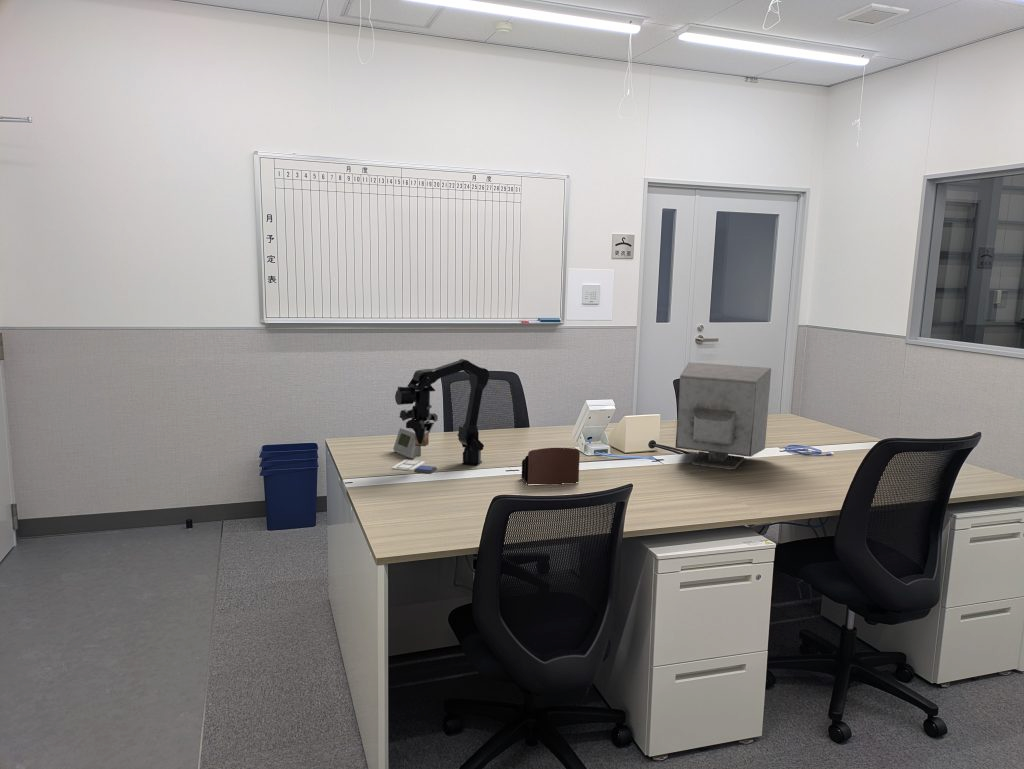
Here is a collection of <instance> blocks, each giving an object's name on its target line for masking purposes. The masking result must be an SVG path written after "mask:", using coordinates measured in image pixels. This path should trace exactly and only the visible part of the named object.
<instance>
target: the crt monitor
mask: <svg viewBox="0 0 1024 769" xmlns="http://www.w3.org/2000/svg"><path fill="white" fill-rule="evenodd" d="M771 375H772V368H771V367H760V366H759V367H758V366H746V365H744V366H743V365H734V364H733V365H731V364H720V363H719V364H716V363H707V362H706V363H703V362H691V361H690V362H689V361H688V363H687V364H686V366H685V368H684V369H683V371H682V372H681V374H680V375H679V385H678V386H679V387H678V388H679V389H678V401H677V415H676V416H677V418H676V434H675V448H676V449H682V450H684V449H685V450H691V451H692V450H693V451H698V453H697V454H696V456H695V458H694V460H693V461H692V463H691V464H692V465H693V466H699V465H701V467H707V466H709V467H708V468H715V467H716V468H717V469H723V468H724V469H725V470H730V469H734V470H735V469H736V468H737V467H738V466H739V465H740V464H741V463H742V462H743V461H744V460H745V459H746V458H745V457H750V458H751V457H753V456H755V455H757V454H758V453H760V452H762V451H764V450H765V449H766V439H767V426H768V424H767V423H768V414H769V403H770V402H769V401H770V389H771V388H770V386H771ZM724 469H723V470H724Z"/></svg>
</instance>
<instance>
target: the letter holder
mask: <svg viewBox="0 0 1024 769" xmlns="http://www.w3.org/2000/svg"><path fill="white" fill-rule="evenodd" d="M580 454H581V452H580V450H579V449H578V448H572V447H547V448H546V447H544V448H538V449H532V450H529V451H528V453H527V455H526V456H525V458H523V459H522V461H521V476H520V477H521V480H522V479H523V480H524V481H525V482H526V483H527V484H559V485H563V484H562V483H576V482H580V459H581V458H580V457H581V456H580ZM523 480H522V481H523ZM524 481H523V482H524ZM525 482H524V483H525ZM526 483H525V484H526ZM527 484H526V485H527Z"/></svg>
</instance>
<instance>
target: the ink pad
mask: <svg viewBox="0 0 1024 769" xmlns="http://www.w3.org/2000/svg"><path fill="white" fill-rule="evenodd" d="M437 470H438V468H437V467H436V466H434V465H432V466H431V465H425V464H423V465H420V466H419V467H417V468H416V469H414V473H420V474H421V473H423V474H430V475H431V474H433V473H434V472H436V471H437Z"/></svg>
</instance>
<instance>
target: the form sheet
mask: <svg viewBox="0 0 1024 769" xmlns="http://www.w3.org/2000/svg"><path fill="white" fill-rule="evenodd" d="M425 464H426V461H423V460H413V459H403V460H402V461H400V462H399V463H396V464H395V465H393V466H392V467H391V469H392V470H397V471H398V470H401V471H409V472H413V471H414V469H416V468H417V467H419V466H420V465H425Z"/></svg>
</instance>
